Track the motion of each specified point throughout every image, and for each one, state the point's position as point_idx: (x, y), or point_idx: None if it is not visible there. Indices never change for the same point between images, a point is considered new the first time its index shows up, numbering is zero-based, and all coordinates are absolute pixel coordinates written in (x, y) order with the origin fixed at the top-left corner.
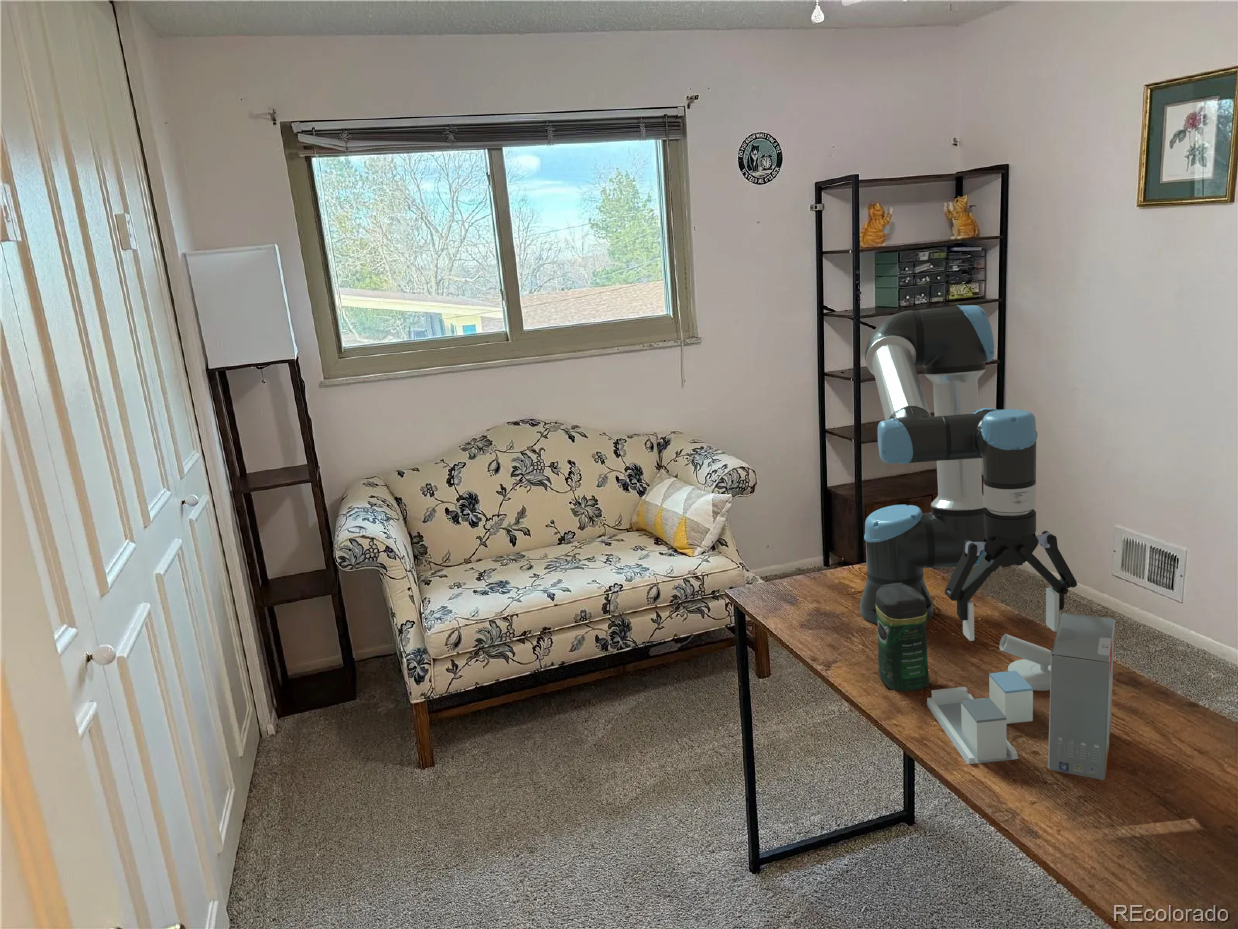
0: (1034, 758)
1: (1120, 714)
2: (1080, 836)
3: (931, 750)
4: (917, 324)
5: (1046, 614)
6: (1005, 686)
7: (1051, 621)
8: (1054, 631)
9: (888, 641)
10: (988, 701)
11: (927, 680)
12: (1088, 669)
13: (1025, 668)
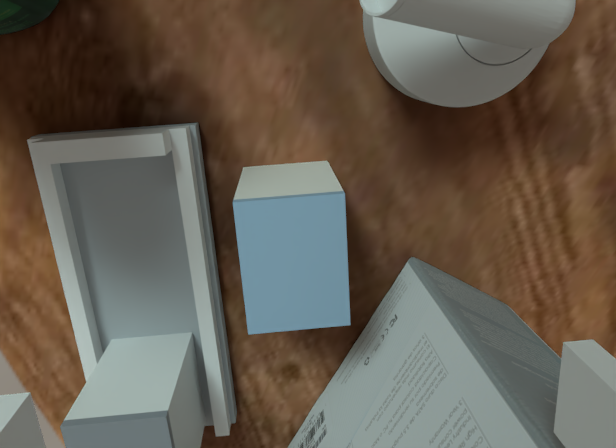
0: (280, 392)
1: (583, 231)
2: None
3: (30, 346)
4: None
5: (613, 397)
6: (261, 303)
7: (589, 445)
8: (556, 432)
9: None
10: (155, 438)
11: (43, 4)
12: None
13: None
